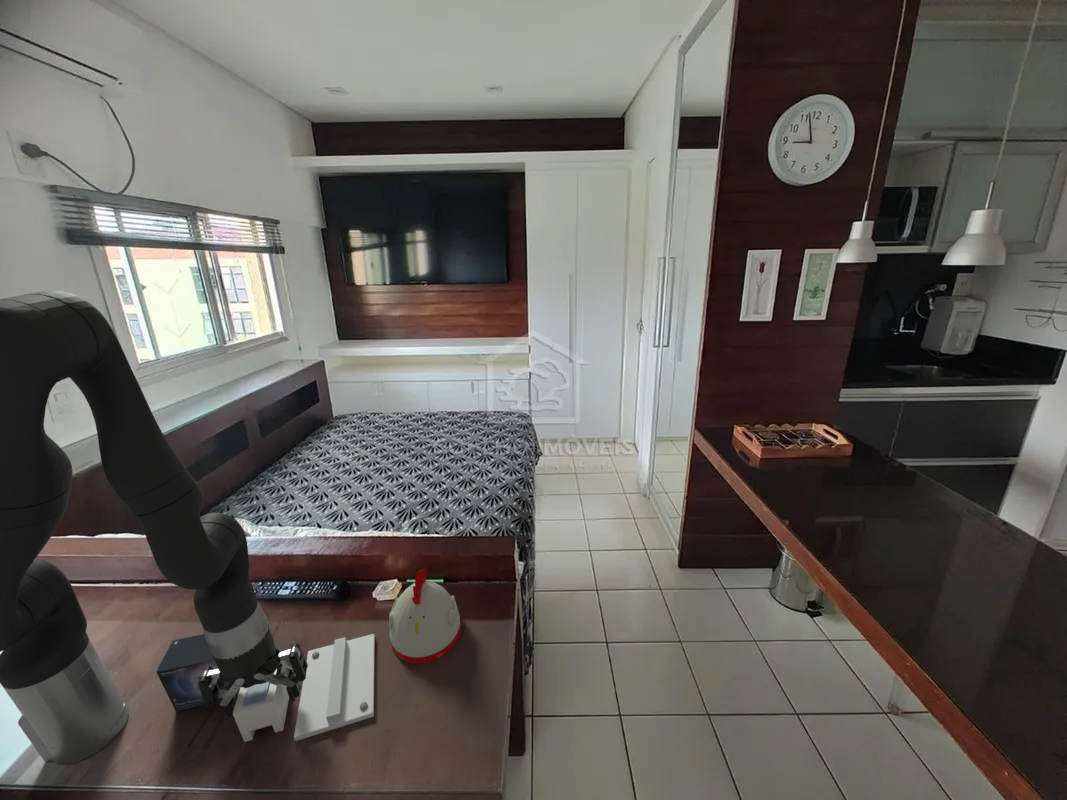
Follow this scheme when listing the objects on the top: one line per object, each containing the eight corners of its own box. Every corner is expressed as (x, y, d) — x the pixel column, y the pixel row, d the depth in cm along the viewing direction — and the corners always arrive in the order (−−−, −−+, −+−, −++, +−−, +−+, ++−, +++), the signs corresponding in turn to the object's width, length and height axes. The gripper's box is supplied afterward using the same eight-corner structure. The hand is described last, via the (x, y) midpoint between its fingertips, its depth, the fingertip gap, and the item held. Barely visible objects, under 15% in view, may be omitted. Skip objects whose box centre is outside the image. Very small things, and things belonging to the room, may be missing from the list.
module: (244, 742, 70) (232, 712, 68) (255, 700, 77) (244, 671, 74) (283, 730, 72) (272, 700, 69) (290, 690, 78) (281, 661, 75)
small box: (173, 716, 74) (152, 673, 70) (190, 680, 80) (171, 638, 76) (243, 698, 77) (227, 656, 73) (254, 665, 83) (239, 624, 79)
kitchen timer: (382, 664, 82) (370, 605, 77) (400, 605, 95) (390, 550, 90) (456, 661, 83) (449, 602, 77) (464, 603, 96) (459, 548, 90)
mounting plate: (295, 741, 70) (291, 730, 69) (309, 654, 84) (306, 645, 83) (373, 716, 74) (371, 706, 73) (374, 637, 88) (372, 627, 87)
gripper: (174, 671, 62) (209, 743, 68) (286, 641, 66) (310, 712, 72) (194, 627, 68) (225, 697, 74) (295, 603, 72) (316, 671, 78)
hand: (266, 704), depth 73 cm, fingers open, 8 cm apart
